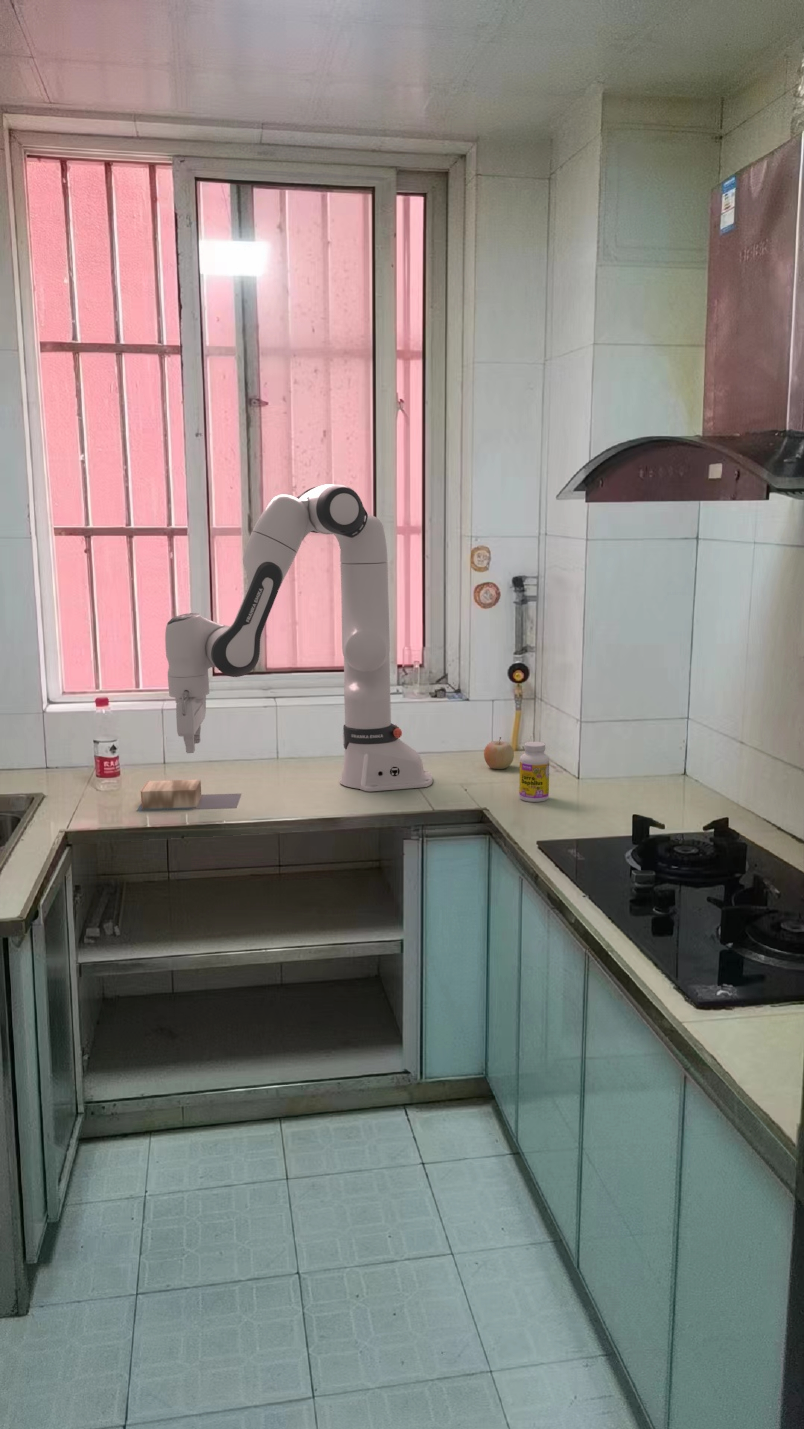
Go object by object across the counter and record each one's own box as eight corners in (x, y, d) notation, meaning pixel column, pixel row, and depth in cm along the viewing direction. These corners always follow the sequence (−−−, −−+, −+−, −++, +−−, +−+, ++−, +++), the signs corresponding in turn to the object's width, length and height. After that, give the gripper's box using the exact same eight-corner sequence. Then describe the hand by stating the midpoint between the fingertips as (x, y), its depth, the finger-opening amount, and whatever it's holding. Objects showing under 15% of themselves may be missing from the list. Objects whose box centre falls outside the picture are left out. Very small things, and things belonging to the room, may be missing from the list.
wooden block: (200, 779, 246) (147, 781, 245) (195, 789, 237) (140, 791, 236) (201, 796, 247) (149, 797, 246) (196, 807, 238) (141, 808, 237)
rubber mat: (241, 795, 249) (241, 793, 248) (236, 810, 237) (236, 808, 237) (146, 798, 247) (146, 796, 247) (136, 813, 236) (136, 810, 236)
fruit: (497, 763, 276) (497, 732, 274) (519, 767, 270) (519, 737, 269) (477, 768, 271) (477, 737, 269) (498, 773, 265) (498, 742, 264)
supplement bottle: (515, 801, 240) (516, 745, 238) (523, 793, 246) (524, 739, 244) (544, 804, 238) (545, 748, 235) (551, 796, 244) (552, 741, 241)
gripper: (197, 694, 227) (201, 757, 230) (208, 679, 247) (212, 737, 250) (167, 696, 227) (172, 759, 229) (181, 680, 247) (185, 738, 249)
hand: (193, 747), depth 240 cm, fingers open, 8 cm apart
